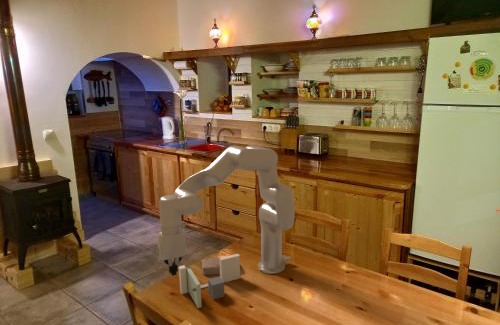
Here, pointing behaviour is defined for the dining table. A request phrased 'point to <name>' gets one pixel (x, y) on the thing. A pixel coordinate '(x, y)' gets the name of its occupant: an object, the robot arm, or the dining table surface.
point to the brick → (211, 266)
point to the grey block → (216, 287)
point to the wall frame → (227, 271)
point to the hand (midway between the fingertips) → (173, 273)
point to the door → (193, 287)
